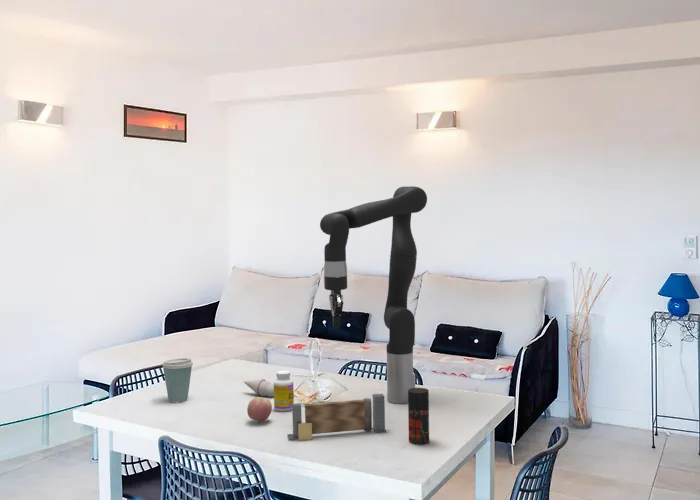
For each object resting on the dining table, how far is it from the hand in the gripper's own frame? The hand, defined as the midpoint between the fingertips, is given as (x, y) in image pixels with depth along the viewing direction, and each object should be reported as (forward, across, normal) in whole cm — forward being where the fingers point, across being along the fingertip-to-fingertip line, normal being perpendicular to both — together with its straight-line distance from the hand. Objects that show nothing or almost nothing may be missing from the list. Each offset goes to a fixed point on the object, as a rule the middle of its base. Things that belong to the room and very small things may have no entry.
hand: (336, 327), depth 224 cm
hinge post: (+29, +20, +9) cm, 36 cm away
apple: (+29, +2, -26) cm, 39 cm away
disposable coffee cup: (+29, -31, -53) cm, 68 cm away
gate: (+29, +20, -3) cm, 35 cm away
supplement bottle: (+29, -10, -17) cm, 35 cm away
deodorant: (+29, +32, +18) cm, 47 cm away
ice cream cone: (+29, -30, -24) cm, 48 cm away
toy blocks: (+29, +20, -16) cm, 39 cm away
